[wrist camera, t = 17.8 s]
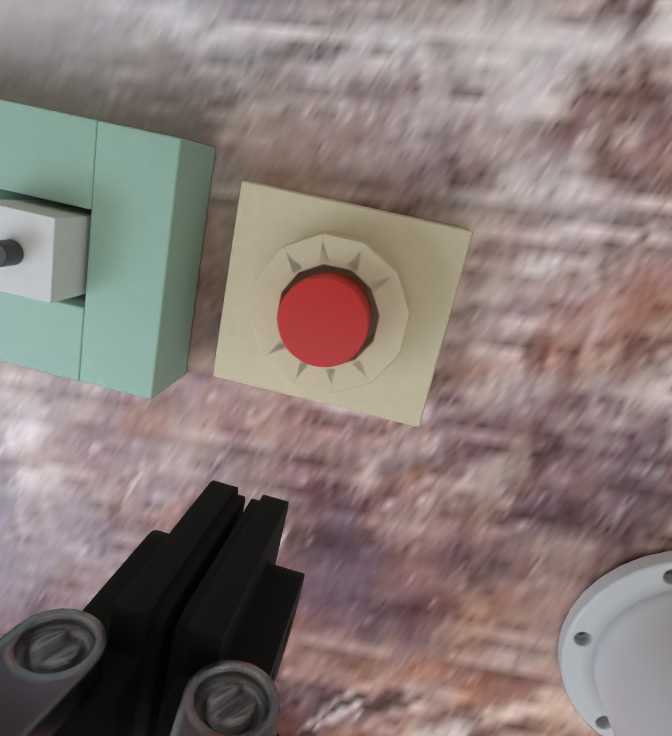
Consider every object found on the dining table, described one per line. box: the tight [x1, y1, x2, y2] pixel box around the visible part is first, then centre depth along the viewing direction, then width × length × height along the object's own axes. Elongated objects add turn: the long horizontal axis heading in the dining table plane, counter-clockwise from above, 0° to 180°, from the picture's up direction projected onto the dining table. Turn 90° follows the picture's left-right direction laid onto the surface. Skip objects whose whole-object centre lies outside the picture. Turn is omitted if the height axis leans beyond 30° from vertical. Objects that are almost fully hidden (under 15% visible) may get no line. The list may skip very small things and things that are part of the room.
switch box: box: [213, 181, 473, 427], centre depth 25 cm, size 10×9×4 cm
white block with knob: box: [0, 199, 92, 303], centre depth 24 cm, size 3×3×7 cm
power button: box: [277, 272, 372, 367], centre depth 23 cm, size 4×4×2 cm
